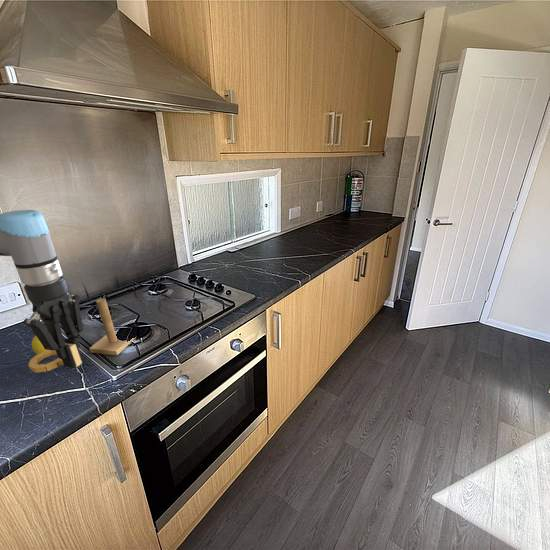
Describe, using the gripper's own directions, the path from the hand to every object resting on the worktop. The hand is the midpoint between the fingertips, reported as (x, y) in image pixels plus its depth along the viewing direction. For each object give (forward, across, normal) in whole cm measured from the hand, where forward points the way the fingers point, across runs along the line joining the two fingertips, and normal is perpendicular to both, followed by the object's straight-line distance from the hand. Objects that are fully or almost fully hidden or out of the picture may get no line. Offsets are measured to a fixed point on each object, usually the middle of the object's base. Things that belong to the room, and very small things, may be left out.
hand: (73, 363), depth 76 cm
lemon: (+5, +6, +16) cm, 18 cm away
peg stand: (+5, +14, 0) cm, 15 cm away
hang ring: (+1, 0, +5) cm, 5 cm away
